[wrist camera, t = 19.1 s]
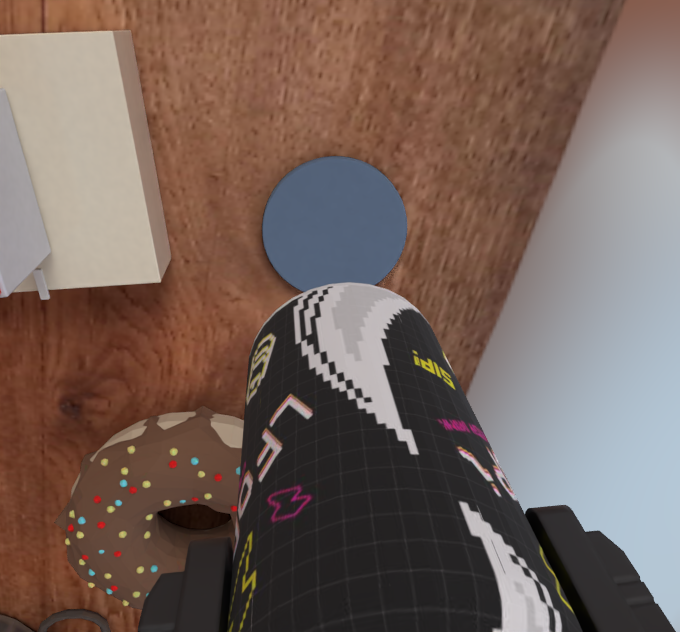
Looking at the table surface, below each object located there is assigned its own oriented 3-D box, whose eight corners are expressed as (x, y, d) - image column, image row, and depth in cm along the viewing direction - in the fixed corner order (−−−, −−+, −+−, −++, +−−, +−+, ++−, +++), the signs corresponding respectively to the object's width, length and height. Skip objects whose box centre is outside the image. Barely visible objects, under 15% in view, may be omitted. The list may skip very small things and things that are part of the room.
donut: (120, 359, 30) (93, 417, 26) (349, 437, 34) (360, 499, 30) (49, 540, 36) (16, 614, 31) (255, 590, 39) (252, 663, 35)
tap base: (-131, 29, 23) (-188, 30, 20) (129, 19, 23) (108, 19, 21) (-39, 278, 28) (-75, 308, 25) (173, 264, 28) (161, 292, 25)
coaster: (255, 160, 26) (255, 162, 26) (406, 152, 27) (408, 154, 26) (269, 297, 30) (268, 303, 29) (403, 288, 30) (405, 293, 29)
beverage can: (293, 241, 16) (326, 677, 5) (465, 311, 18) (751, 753, 7) (222, 399, 18) (147, 929, 8) (381, 448, 20) (503, 945, 9)
